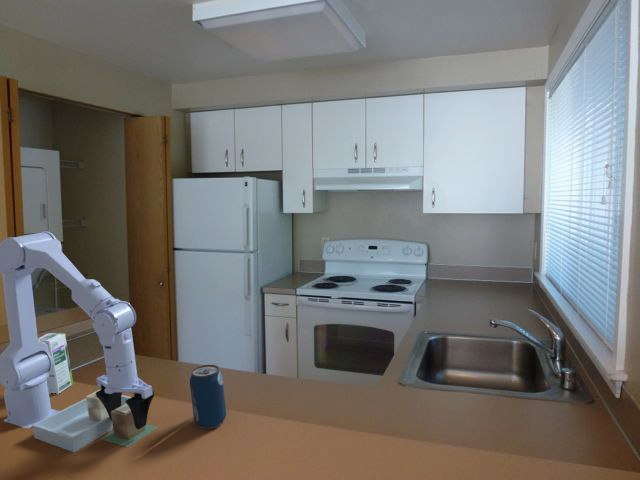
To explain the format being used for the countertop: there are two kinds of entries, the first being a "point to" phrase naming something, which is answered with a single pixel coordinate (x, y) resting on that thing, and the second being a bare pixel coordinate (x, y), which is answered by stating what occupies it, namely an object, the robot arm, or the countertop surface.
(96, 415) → the birch block
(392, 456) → the countertop surface
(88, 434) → the bin
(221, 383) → the soda can
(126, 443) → the mat
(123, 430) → the brown wooden block
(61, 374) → the syrup box
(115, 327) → the robot arm
